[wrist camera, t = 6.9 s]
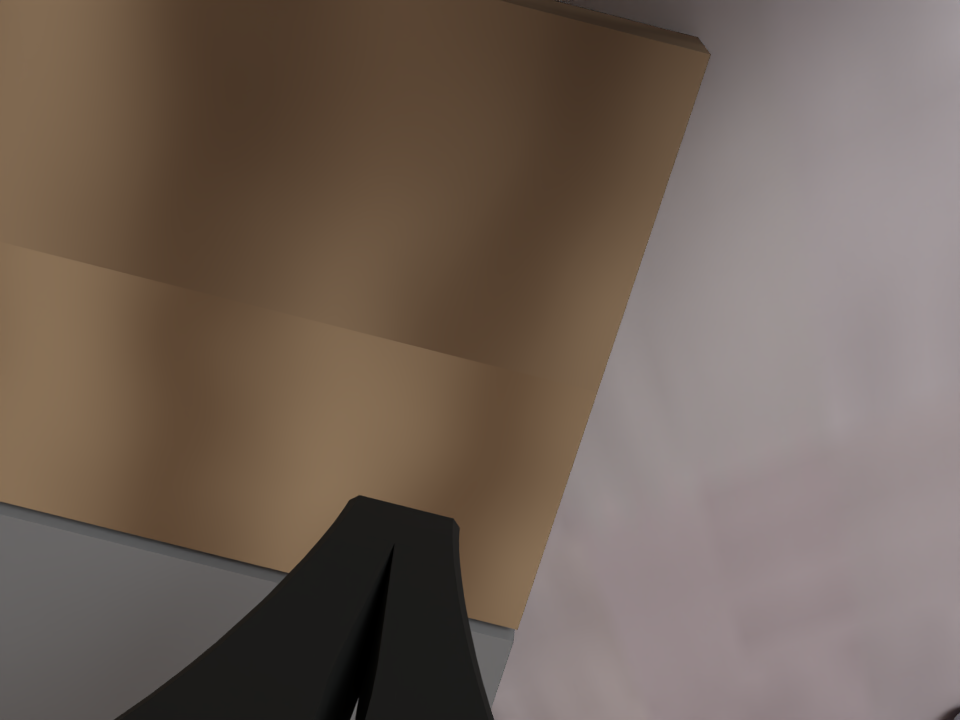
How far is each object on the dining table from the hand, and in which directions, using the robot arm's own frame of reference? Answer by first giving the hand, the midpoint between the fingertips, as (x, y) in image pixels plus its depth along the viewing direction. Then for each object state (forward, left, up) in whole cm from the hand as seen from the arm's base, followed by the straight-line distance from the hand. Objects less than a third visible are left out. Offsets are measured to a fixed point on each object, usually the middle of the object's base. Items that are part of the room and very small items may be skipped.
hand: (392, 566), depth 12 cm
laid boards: (+5, +1, -9) cm, 11 cm away
